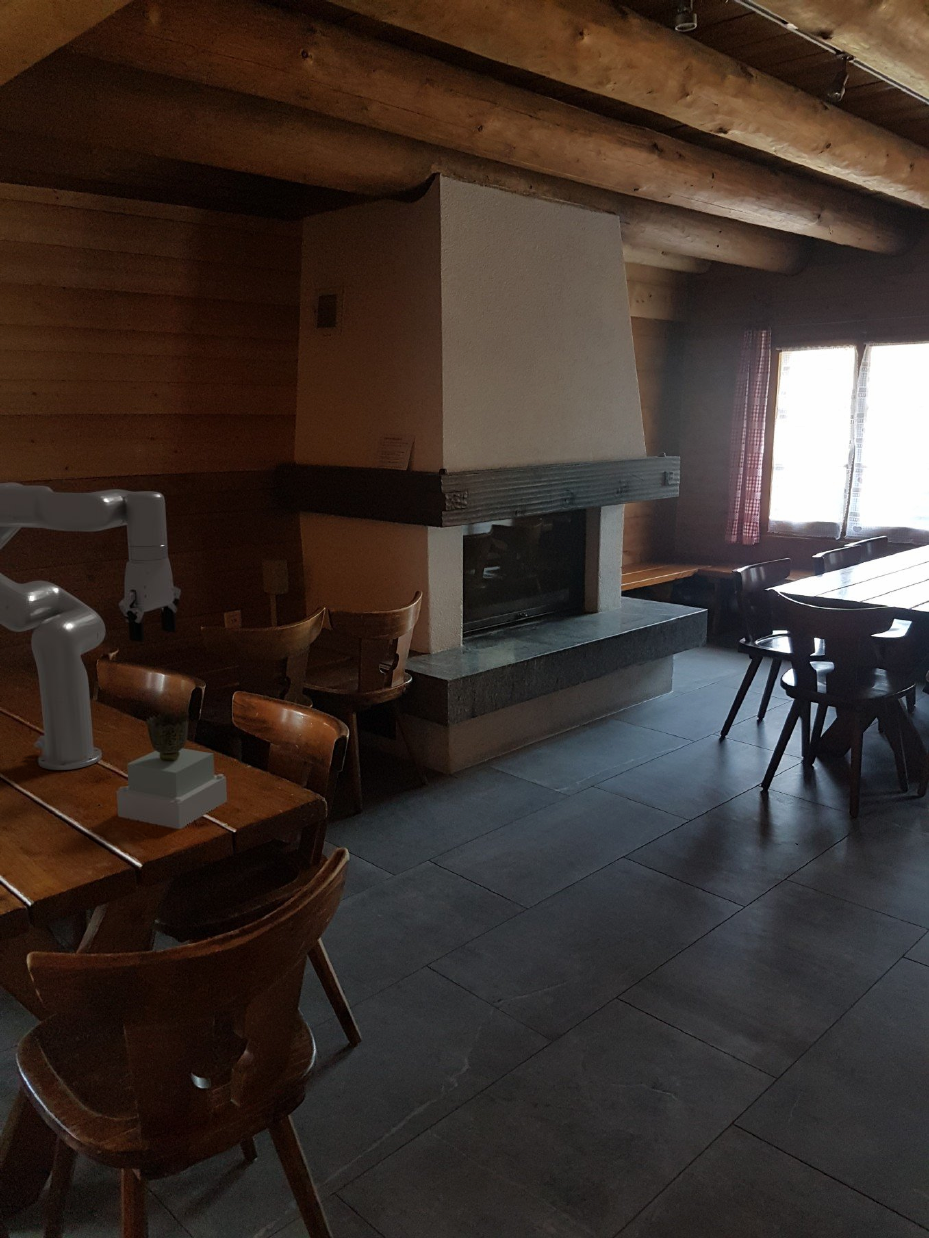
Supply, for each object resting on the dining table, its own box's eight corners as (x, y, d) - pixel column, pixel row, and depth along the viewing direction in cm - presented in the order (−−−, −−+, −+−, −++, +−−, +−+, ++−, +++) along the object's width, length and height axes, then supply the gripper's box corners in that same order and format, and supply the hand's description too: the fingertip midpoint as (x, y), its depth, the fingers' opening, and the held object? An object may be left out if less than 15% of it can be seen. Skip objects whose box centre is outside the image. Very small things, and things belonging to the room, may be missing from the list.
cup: (198, 755, 185) (196, 714, 183) (174, 768, 178) (172, 726, 176) (165, 750, 187) (163, 710, 186) (140, 762, 180) (137, 721, 179)
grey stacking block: (118, 816, 181) (114, 765, 179) (168, 790, 194) (165, 742, 192) (179, 829, 176) (176, 776, 174) (226, 801, 189) (224, 752, 186)
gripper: (161, 547, 206) (166, 626, 210) (102, 558, 191) (108, 643, 194) (190, 549, 203) (195, 629, 207) (133, 560, 188) (138, 647, 191)
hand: (153, 636), depth 201 cm, fingers open, 9 cm apart
